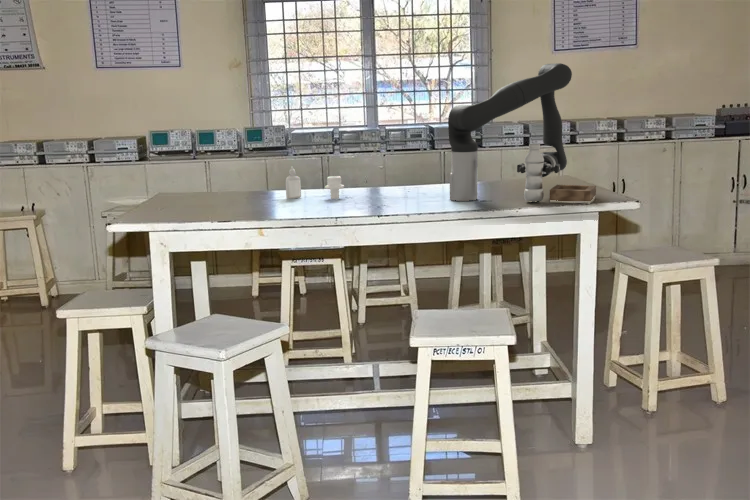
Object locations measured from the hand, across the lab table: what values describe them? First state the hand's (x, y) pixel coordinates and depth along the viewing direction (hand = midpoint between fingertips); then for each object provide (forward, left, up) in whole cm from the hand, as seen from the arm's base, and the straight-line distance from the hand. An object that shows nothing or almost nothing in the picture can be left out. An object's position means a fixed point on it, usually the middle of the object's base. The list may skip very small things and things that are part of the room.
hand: (534, 170), depth 253 cm
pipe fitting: (-73, -7, -11) cm, 74 cm away
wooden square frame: (+12, +7, -11) cm, 18 cm away
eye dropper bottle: (-89, -10, -11) cm, 90 cm away
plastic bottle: (0, 0, -11) cm, 11 cm away
